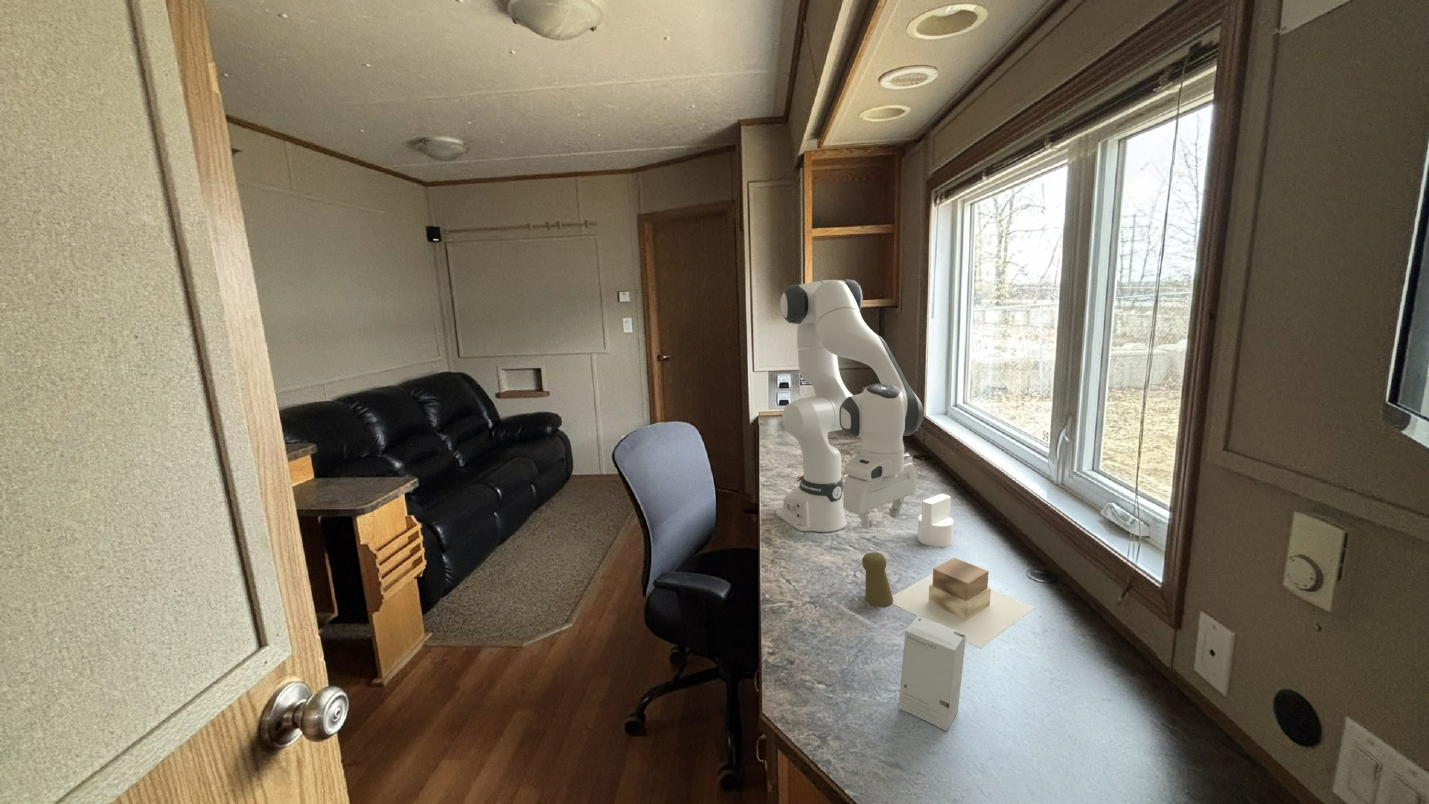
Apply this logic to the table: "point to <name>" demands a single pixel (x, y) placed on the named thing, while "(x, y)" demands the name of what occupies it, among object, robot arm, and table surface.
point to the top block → (960, 578)
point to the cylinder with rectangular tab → (936, 522)
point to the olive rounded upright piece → (876, 580)
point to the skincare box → (932, 672)
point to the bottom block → (959, 602)
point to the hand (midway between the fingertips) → (880, 522)
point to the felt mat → (976, 628)
